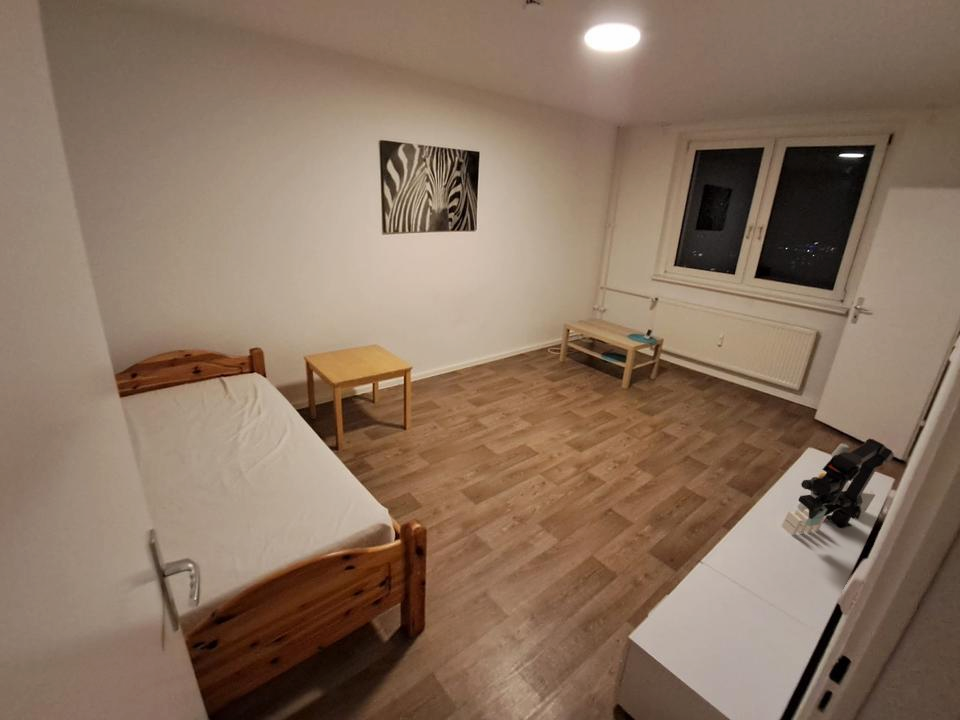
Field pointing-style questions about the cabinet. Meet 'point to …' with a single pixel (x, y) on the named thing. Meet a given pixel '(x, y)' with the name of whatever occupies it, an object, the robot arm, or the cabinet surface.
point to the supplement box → (863, 497)
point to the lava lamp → (838, 450)
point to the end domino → (817, 527)
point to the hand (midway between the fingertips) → (815, 517)
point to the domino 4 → (816, 518)
